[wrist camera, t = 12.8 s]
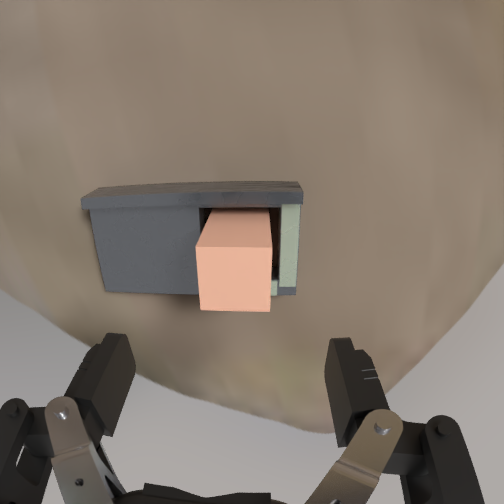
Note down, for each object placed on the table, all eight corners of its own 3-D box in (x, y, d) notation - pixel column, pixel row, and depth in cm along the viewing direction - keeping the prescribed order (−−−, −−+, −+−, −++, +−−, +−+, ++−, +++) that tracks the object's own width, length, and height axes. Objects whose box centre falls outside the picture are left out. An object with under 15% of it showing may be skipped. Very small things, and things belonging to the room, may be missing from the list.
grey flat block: (99, 187, 22) (80, 198, 20) (297, 181, 22) (303, 192, 19) (115, 279, 26) (101, 297, 23) (293, 281, 25) (297, 302, 23)
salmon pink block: (213, 207, 23) (195, 246, 17) (268, 208, 23) (272, 247, 17) (215, 257, 25) (200, 309, 18) (267, 258, 25) (269, 311, 18)
